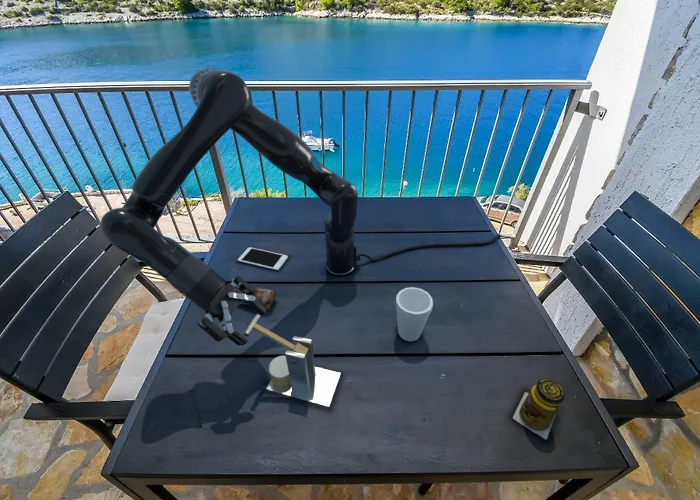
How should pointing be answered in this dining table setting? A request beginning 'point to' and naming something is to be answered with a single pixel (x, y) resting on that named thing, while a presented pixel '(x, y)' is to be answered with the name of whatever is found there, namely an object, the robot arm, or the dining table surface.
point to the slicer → (307, 377)
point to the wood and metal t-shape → (274, 336)
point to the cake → (279, 371)
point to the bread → (263, 296)
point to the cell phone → (263, 258)
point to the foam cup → (412, 312)
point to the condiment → (540, 407)
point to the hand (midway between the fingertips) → (255, 327)
